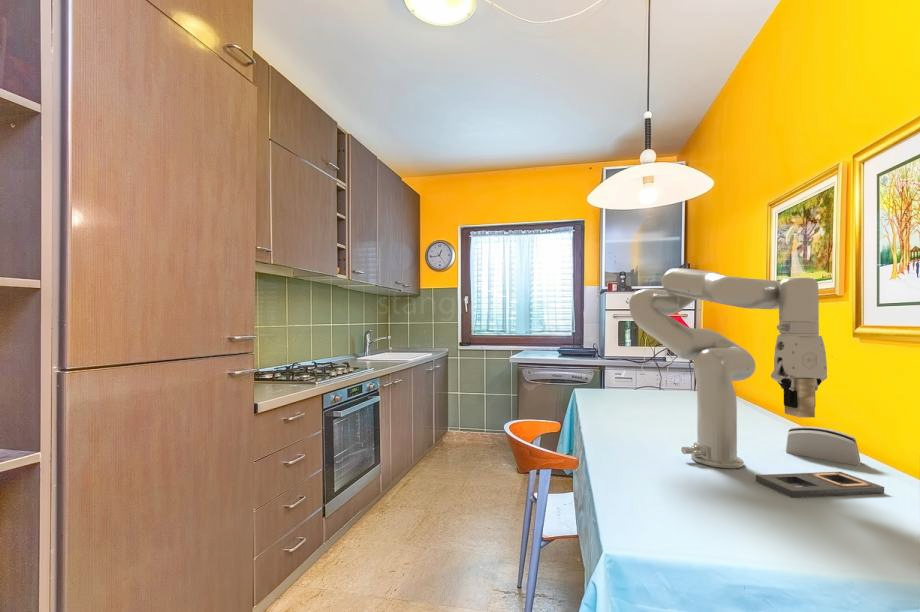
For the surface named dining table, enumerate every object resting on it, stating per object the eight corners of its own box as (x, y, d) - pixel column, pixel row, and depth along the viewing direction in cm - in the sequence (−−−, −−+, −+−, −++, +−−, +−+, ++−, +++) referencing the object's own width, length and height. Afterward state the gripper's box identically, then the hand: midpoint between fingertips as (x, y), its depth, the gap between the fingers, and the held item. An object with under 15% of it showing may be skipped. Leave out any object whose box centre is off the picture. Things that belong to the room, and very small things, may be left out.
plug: (799, 417, 101) (799, 378, 101) (784, 413, 104) (784, 376, 105) (814, 417, 101) (814, 378, 101) (799, 413, 105) (799, 376, 105)
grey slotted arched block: (860, 461, 123) (860, 430, 120) (860, 471, 119) (859, 439, 117) (787, 448, 134) (785, 420, 132) (785, 457, 131) (783, 427, 129)
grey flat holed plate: (792, 497, 96) (792, 490, 97) (755, 481, 106) (755, 474, 106) (884, 493, 100) (884, 486, 100) (840, 477, 110) (840, 470, 110)
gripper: (780, 329, 99) (781, 410, 98) (845, 330, 101) (846, 409, 100) (754, 328, 106) (754, 404, 106) (815, 329, 108) (816, 403, 108)
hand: (799, 405), depth 103 cm, fingers closed on plug, 3 cm apart
